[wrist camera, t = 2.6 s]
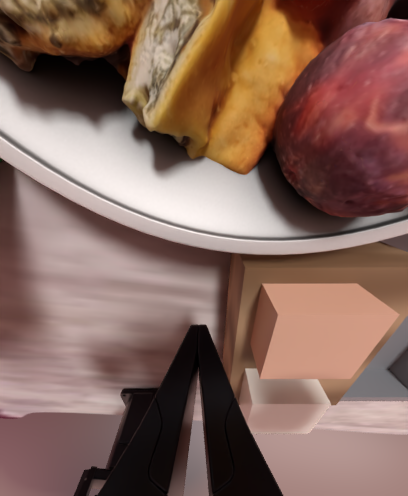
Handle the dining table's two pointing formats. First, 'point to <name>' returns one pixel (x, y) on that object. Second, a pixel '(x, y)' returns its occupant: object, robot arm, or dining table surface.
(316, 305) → the terracotta tile
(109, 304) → the dining table surface
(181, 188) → the bowl
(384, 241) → the tray
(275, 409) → the cream tile
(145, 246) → the dining table surface
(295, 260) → the board
